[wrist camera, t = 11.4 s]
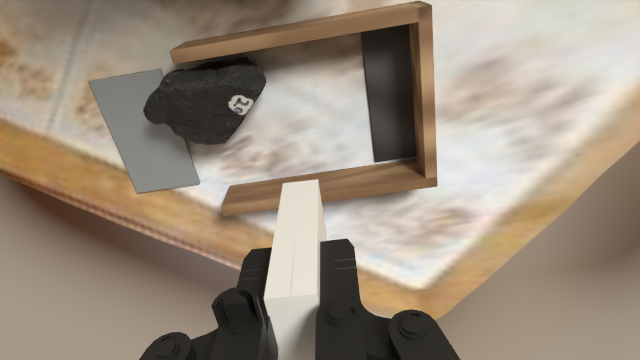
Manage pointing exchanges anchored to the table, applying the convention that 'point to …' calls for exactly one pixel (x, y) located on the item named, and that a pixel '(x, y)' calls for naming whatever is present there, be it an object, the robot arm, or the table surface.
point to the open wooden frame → (383, 93)
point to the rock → (206, 100)
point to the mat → (143, 133)
